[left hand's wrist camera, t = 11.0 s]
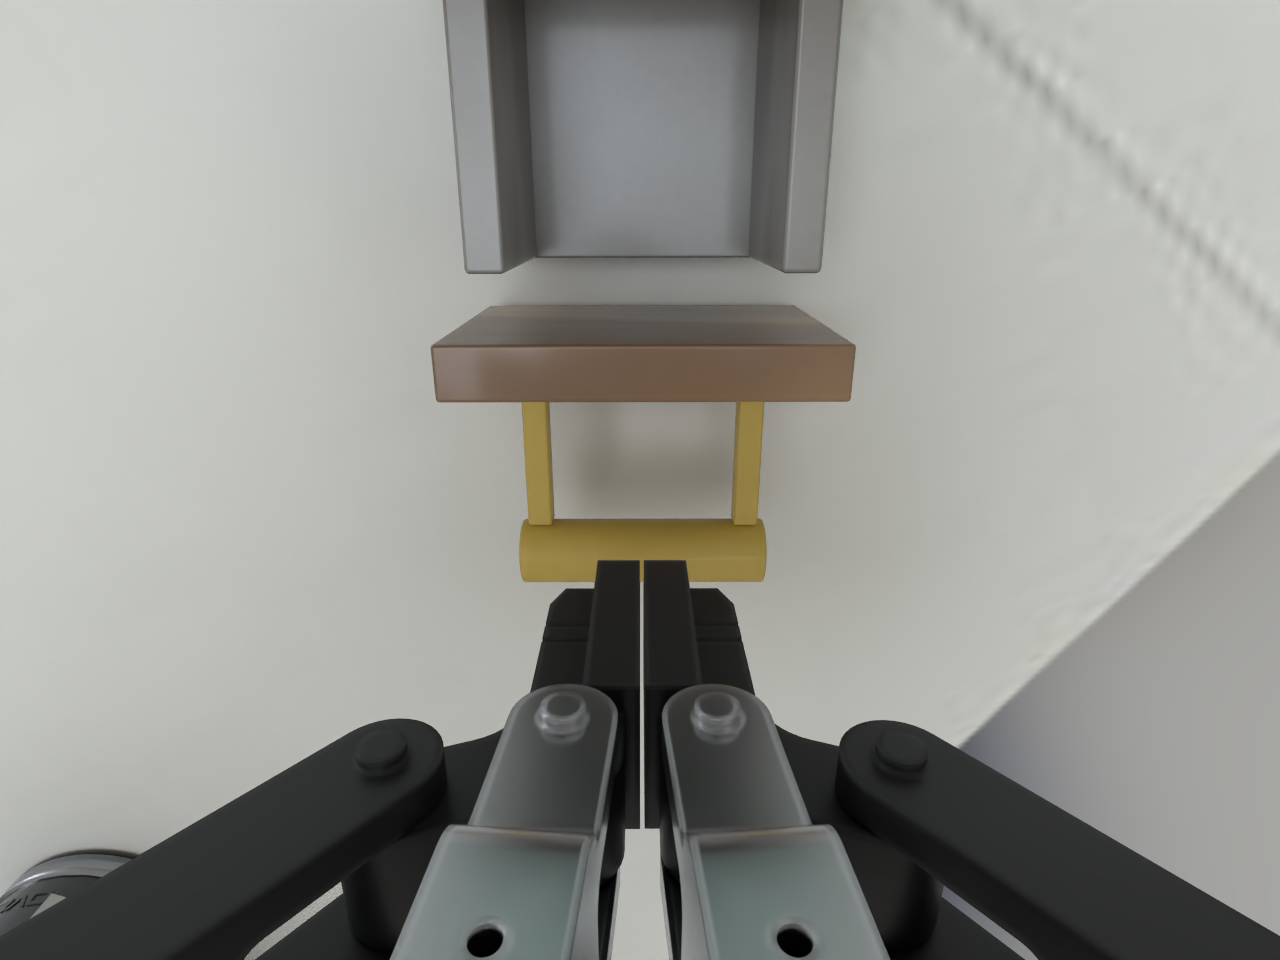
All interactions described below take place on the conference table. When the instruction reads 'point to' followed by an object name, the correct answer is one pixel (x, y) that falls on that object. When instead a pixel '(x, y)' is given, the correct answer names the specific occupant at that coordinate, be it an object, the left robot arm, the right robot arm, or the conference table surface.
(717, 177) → the drawer
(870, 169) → the conference table surface
